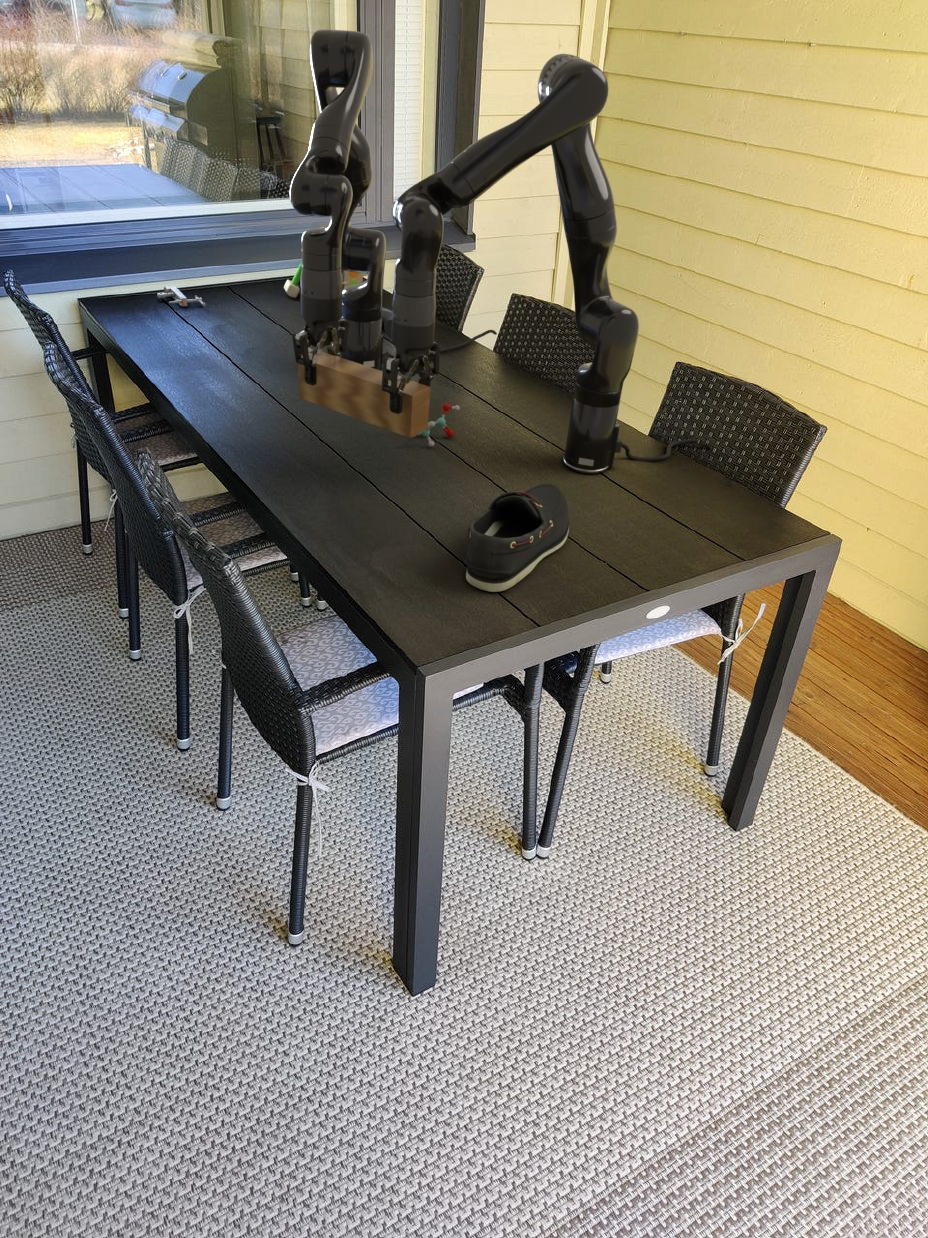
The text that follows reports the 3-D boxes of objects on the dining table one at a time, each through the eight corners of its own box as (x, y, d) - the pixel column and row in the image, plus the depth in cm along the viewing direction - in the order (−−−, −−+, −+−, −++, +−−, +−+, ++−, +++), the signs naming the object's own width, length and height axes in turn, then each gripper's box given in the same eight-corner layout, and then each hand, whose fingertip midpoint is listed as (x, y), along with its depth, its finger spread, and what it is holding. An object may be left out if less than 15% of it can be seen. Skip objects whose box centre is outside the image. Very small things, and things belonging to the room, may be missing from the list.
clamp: (153, 286, 267) (189, 284, 272) (153, 294, 268) (189, 292, 273) (168, 303, 257) (206, 300, 261) (169, 311, 258) (206, 308, 263)
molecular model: (451, 439, 197) (435, 390, 196) (410, 454, 201) (394, 406, 199) (469, 435, 207) (454, 389, 206) (430, 449, 211) (415, 404, 210)
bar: (298, 398, 189) (298, 357, 185) (317, 389, 193) (317, 349, 189) (410, 438, 179) (412, 395, 174) (427, 428, 183) (430, 386, 178)
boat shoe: (593, 526, 180) (600, 474, 174) (502, 598, 156) (507, 541, 151) (532, 507, 186) (537, 456, 180) (435, 574, 162) (438, 517, 156)
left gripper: (311, 304, 172) (312, 395, 181) (362, 287, 182) (360, 374, 191) (279, 294, 175) (281, 384, 184) (330, 278, 185) (330, 364, 194)
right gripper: (406, 332, 163) (403, 423, 172) (454, 313, 173) (448, 400, 182) (371, 321, 166) (369, 411, 176) (420, 303, 176) (416, 389, 186)
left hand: (321, 379), depth 188 cm, fingers closed on bar, 5 cm apart
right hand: (410, 405), depth 179 cm, fingers open, 8 cm apart
